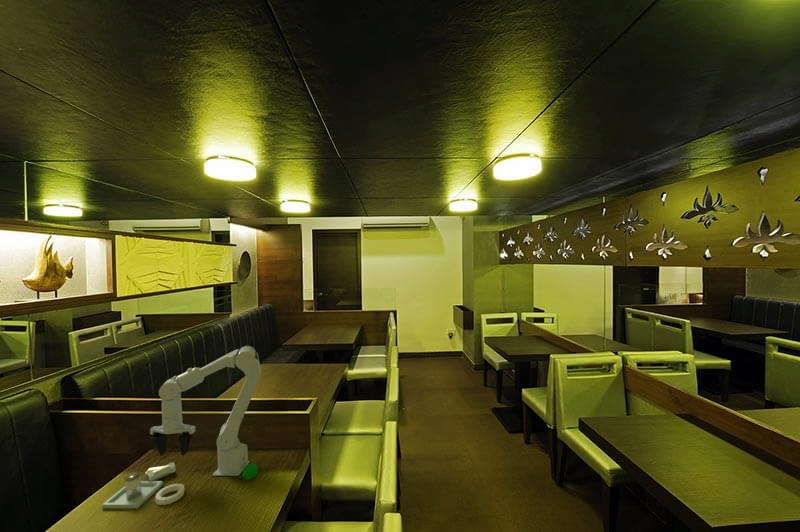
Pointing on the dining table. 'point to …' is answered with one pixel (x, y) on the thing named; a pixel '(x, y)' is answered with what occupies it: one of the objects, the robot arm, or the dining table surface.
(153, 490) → the tray
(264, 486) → the dining table surface
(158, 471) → the pipe fitting
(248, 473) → the polyhedron
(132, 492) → the metal cylinder
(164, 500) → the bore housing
